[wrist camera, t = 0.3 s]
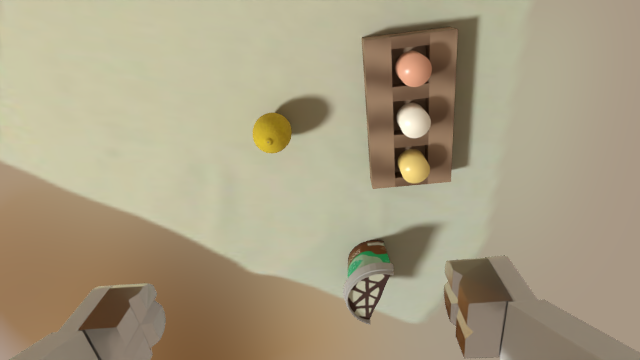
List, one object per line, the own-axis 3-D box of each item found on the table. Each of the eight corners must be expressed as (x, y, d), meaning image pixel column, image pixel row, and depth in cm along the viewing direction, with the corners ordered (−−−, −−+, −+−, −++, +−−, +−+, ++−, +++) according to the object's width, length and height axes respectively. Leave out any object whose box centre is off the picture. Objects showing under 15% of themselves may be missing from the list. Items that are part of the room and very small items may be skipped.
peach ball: (394, 52, 49) (399, 56, 45) (425, 48, 48) (432, 52, 45) (395, 82, 50) (400, 88, 47) (425, 79, 50) (431, 85, 47)
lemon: (296, 110, 56) (291, 127, 49) (290, 143, 58) (285, 164, 51) (260, 103, 55) (250, 119, 48) (256, 137, 58) (245, 157, 51)
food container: (353, 226, 65) (357, 263, 56) (386, 234, 66) (395, 272, 57) (333, 278, 70) (334, 319, 61) (364, 284, 71) (369, 326, 62)
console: (361, 37, 51) (363, 40, 48) (449, 26, 50) (457, 29, 47) (370, 178, 61) (372, 188, 57) (444, 171, 60) (450, 181, 57)
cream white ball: (396, 104, 52) (400, 111, 49) (424, 101, 51) (431, 108, 48) (396, 131, 53) (400, 139, 50) (424, 128, 53) (430, 136, 50)
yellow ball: (397, 150, 55) (401, 159, 52) (424, 147, 54) (430, 156, 51) (397, 174, 57) (401, 184, 53) (424, 171, 56) (429, 182, 53)
